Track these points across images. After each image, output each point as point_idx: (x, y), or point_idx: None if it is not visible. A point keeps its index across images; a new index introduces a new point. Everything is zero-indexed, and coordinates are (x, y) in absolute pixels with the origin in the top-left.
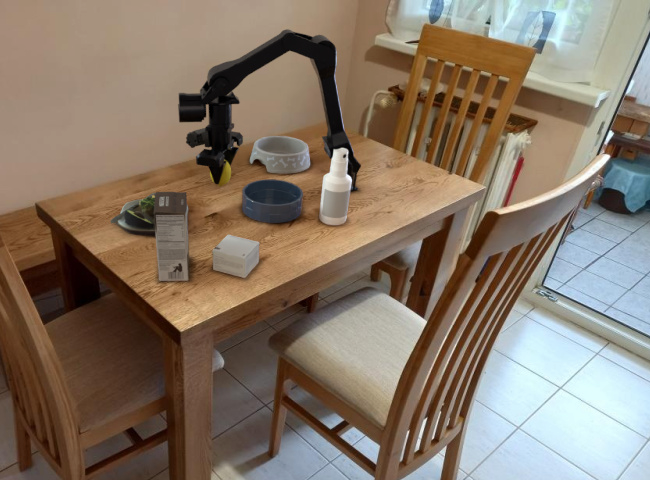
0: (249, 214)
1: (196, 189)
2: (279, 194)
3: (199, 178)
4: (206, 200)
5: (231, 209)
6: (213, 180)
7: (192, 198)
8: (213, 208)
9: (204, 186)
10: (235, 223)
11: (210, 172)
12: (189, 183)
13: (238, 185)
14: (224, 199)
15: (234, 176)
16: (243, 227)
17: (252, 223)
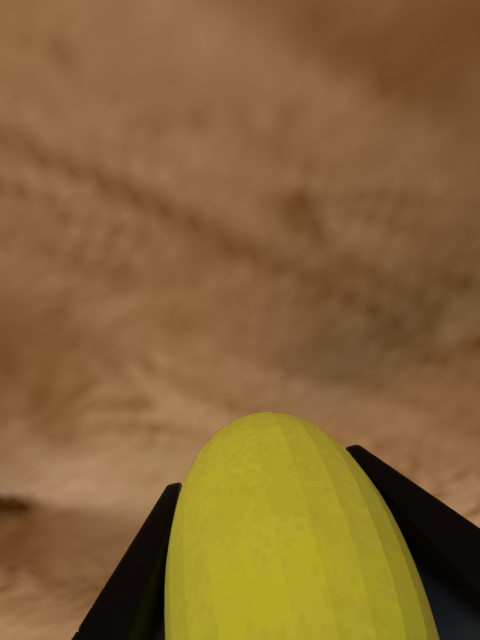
0: None
1: (204, 264)
2: None
3: (377, 176)
4: (111, 399)
5: (114, 529)
6: (186, 476)
7: (72, 318)
8: (59, 472)
9: (273, 284)
10: (17, 595)
11: (195, 509)
12: (264, 155)
13: (371, 429)
14: (185, 459)
15: (476, 357)
16: (15, 624)
17: (70, 626)
